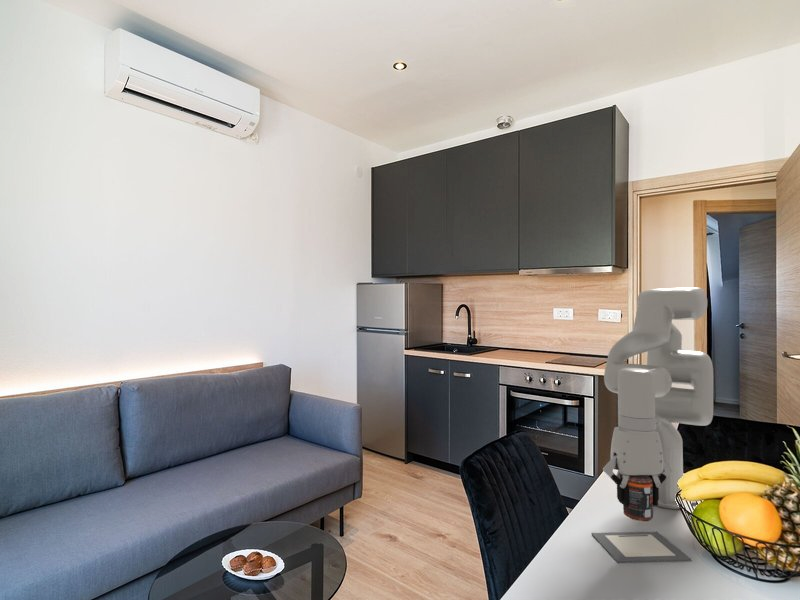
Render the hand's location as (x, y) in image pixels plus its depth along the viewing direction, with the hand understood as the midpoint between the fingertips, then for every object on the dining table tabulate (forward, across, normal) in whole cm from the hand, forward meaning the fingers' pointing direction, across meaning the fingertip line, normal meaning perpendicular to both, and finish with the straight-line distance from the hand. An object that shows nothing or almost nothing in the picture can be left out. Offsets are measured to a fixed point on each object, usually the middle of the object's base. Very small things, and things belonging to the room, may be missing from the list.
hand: (637, 502), depth 101 cm
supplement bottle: (+3, 0, 0) cm, 3 cm away
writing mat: (+10, 0, 0) cm, 10 cm away
